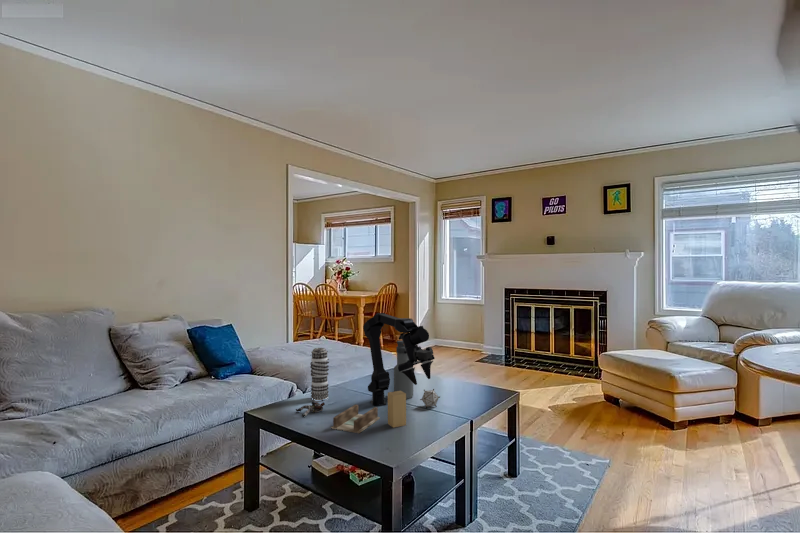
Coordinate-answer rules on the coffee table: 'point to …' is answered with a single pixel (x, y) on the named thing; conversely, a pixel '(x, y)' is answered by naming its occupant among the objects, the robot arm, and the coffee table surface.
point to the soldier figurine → (312, 408)
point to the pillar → (396, 408)
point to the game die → (430, 398)
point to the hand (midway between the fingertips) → (422, 381)
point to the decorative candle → (319, 374)
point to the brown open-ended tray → (355, 420)
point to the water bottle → (400, 378)
